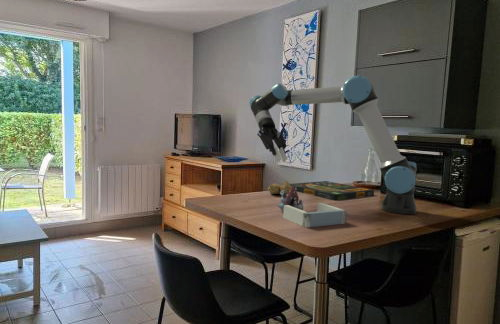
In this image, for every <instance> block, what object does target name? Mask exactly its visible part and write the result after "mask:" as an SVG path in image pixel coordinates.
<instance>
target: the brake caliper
mask: <svg viewBox="0 0 500 324" xmlns="http://www.w3.org/2000/svg"><path fill="white" fill-rule="evenodd" d="M285 192H286V191H285V190H281V192H280V194H279V195H280V196H281V198H280V203H277V204H276V206H277V207H278V208H279V209H280V210H281V211H282V212H283V210H284V205H289V206H292V207H295V208H297V209H300V210H303V211H304V204H303V200H302V199H299V194H298V192H296V190H295V187H294V186H292V188H291V190H290V192H289V194H288V195H287V194H286V193H285Z"/></svg>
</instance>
